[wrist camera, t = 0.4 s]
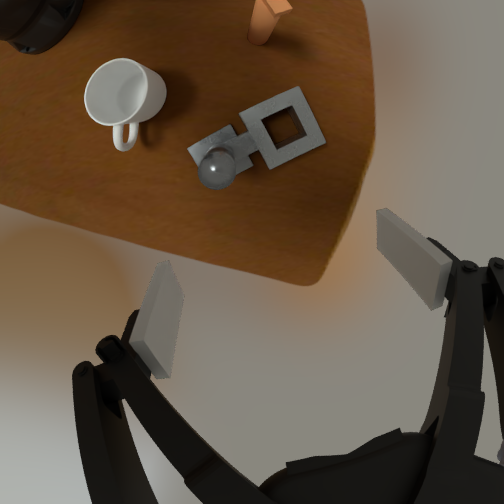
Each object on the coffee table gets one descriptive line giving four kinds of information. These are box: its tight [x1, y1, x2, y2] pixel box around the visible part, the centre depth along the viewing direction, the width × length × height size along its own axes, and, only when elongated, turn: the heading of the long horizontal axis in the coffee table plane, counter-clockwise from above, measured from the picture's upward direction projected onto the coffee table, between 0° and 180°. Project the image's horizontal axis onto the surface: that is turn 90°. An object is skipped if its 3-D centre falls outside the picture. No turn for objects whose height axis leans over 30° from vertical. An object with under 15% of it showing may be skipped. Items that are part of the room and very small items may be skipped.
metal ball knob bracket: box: [187, 86, 326, 190], centre depth 32 cm, size 9×17×12 cm, turn 118°
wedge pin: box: [247, 0, 292, 45], centre depth 23 cm, size 4×3×15 cm
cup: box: [84, 58, 166, 151], centre depth 29 cm, size 8×12×10 cm
